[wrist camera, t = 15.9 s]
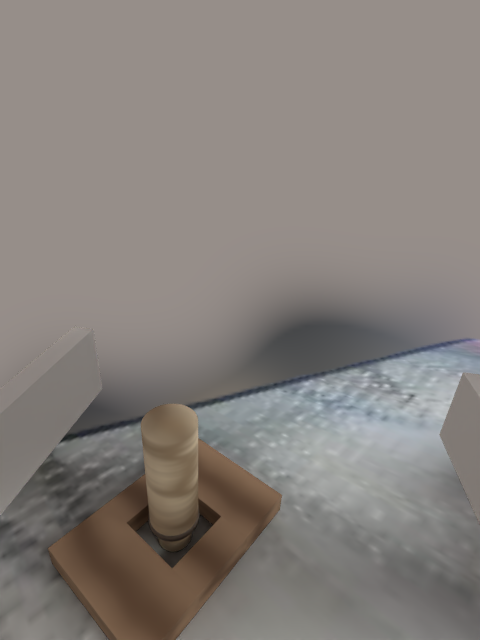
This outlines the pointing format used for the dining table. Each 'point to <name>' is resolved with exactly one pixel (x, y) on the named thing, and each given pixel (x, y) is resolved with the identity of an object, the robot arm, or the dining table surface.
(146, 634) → the walnut board
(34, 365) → the robot arm
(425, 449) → the dining table surface
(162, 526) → the birch peg
